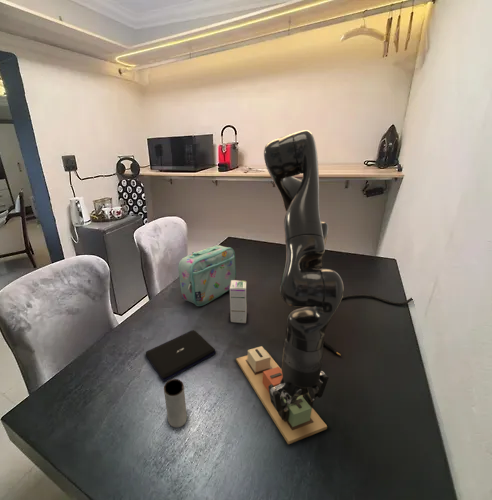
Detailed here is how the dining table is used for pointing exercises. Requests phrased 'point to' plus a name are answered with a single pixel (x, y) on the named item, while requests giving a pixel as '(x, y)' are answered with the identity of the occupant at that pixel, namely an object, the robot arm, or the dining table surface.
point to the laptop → (179, 354)
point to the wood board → (285, 428)
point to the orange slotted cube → (272, 377)
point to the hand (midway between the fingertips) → (294, 413)
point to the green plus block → (299, 412)
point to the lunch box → (207, 274)
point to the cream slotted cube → (258, 359)
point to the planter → (175, 403)
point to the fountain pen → (330, 348)
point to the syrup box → (238, 301)
